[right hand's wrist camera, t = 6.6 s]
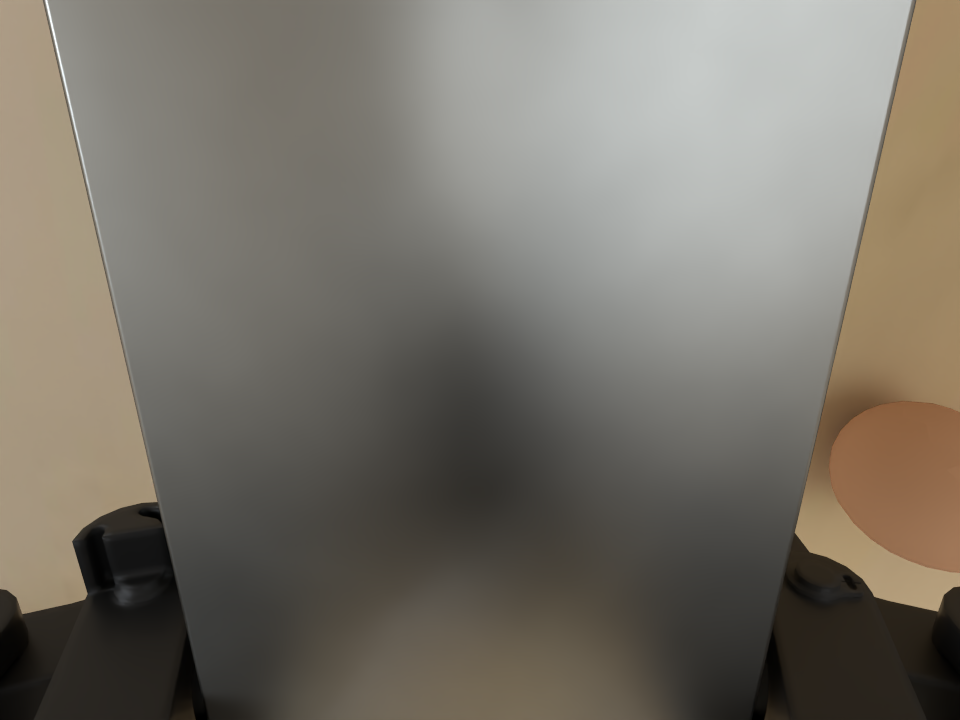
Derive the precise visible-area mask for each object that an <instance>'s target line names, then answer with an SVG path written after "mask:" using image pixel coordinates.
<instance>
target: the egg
mask: <svg viewBox="0 0 960 720" xmlns="http://www.w3.org/2000/svg"><path fill="white" fill-rule="evenodd" d="M829 471H830V477H831V484H832V488H833V491H834V493H835V495H836V498H837V500H838V502H839V504H840V505H841V506H842V508H843V509H844V510H845V512H846V513H847V514H848V516H849V517H850V519H851V520H852V521H853V523H854V524H855V525H856V526H857V527H858V528H860V529H861V530H862V531H863V532H864V533H865V534H866V535H867V536H868V537H869V538H870V539H871V540H873V541H874V542H876V543H877V544H879V545H881V546H882V547H884V548H885V549H887V550H888V551H890V552H891V553H893V554H896V555H898V556H900V557H902V558H904V559H906V560H909V561H911V562H914V563H917V564H920V565H922V566H925V567H929V568H934V569H938V570H943V571H948V572H957V573H960V413H959V412H957V411H955V410H953V409H950V408H947V407H943V406H940V405H936V404H933V403H921V402H909V401H900V402H893V403H887V404H881V405H878V406H875V407H873V408H870V409H867V410H865V411H864V412H862V413H860V414H859V415H857V416H856V417H854V418H852V419H851V420H850V421H849V422H848V423H847V424H846V425H845V426H844V427H843V428H842V429H841V431H840V432H839V434H838V436H837V438H836V440H835V442H834V444H833V446H832V450H831V454H830V462H829Z"/></svg>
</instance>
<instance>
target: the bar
mask: <svg viewBox="0 0 960 720" xmlns="http://www.w3.org/2000/svg"><path fill="white" fill-rule="evenodd" d="M43 2H44V7H45V11H46V16H47V20H48V24H49V29H50V33H51V37H52V42H53V46H54V51H55V55H56V59H57V64H58V68H59V72H60V77H61V81H62V86H63V90H64V94H65V99H66V103H67V107H68V112H69V116H70V121H71V125H72V129H73V134H74V138H75V142H76V147H77V151H78V156H79V160H80V164H81V169H82V173H83V177H84V182H85V186H86V191H87V195H88V199H89V204H90V208H91V212H92V217H93V221H94V225H95V230H96V234H97V239H98V243H99V247H100V252H101V256H102V260H103V265H104V269H105V274H106V278H107V282H108V287H109V291H110V295H111V300H112V304H113V309H114V313H115V317H116V322H117V326H118V330H119V335H120V339H121V344H122V348H123V352H124V357H125V361H126V365H127V370H128V374H129V379H130V383H131V387H132V392H133V396H134V400H135V405H136V409H137V414H138V418H139V422H140V427H141V431H142V435H143V440H144V444H145V449H146V453H147V457H148V462H149V466H150V470H151V475H152V479H153V484H154V488H155V492H156V497H157V501H158V505H159V510H160V514H161V518H162V523H163V527H164V532H165V536H166V540H167V545H168V549H169V553H170V558H171V562H172V567H173V571H174V575H175V580H176V584H177V588H178V593H179V597H180V602H181V606H182V610H183V615H184V619H185V623H186V628H187V632H188V637H189V641H190V645H191V650H192V654H193V658H194V663H195V667H196V672H197V676H198V680H199V685H200V689H201V693H202V698H203V702H204V707H205V711H206V715H207V720H752V717H753V712H754V708H755V703H756V699H757V695H758V690H759V686H760V682H761V677H762V673H763V668H764V664H765V660H766V655H767V651H768V647H769V642H770V638H771V633H772V629H773V625H774V620H775V616H776V612H777V607H778V603H779V598H780V594H781V590H782V585H783V581H784V577H785V572H786V568H787V563H788V559H789V555H790V550H791V546H792V542H793V537H794V533H795V528H796V524H797V520H798V515H799V511H800V507H801V502H802V498H803V493H804V489H805V485H806V480H807V476H808V472H809V467H810V463H811V458H812V454H813V450H814V445H815V441H816V437H817V432H818V428H819V423H820V419H821V415H822V410H823V406H824V402H825V397H826V393H827V388H828V384H829V380H830V375H831V371H832V367H833V362H834V358H835V353H836V349H837V345H838V340H839V336H840V332H841V327H842V323H843V318H844V314H845V310H846V305H847V301H848V297H849V292H850V288H851V283H852V279H853V275H854V270H855V266H856V262H857V257H858V253H859V248H860V244H861V240H862V235H863V231H864V227H865V222H866V218H867V213H868V209H869V205H870V200H871V196H872V191H873V187H874V183H875V178H876V174H877V170H878V165H879V161H880V156H881V152H882V148H883V143H884V139H885V135H886V130H887V126H888V121H889V117H890V113H891V108H892V104H893V100H894V95H895V91H896V86H897V82H898V78H899V73H900V69H901V65H902V60H903V56H904V51H905V47H906V43H907V38H908V34H909V30H910V25H911V21H912V16H913V12H914V8H915V3H916V0H43Z"/></svg>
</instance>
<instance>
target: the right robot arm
mask: <svg viewBox="0 0 960 720" xmlns="http://www.w3.org/2000/svg"><path fill="white" fill-rule="evenodd" d="M72 542H73V546H74V549H75V552H76V556H77V559H78V562H79V566H80V569H81V573H82V576H83V579H84V583H85V586H86V589H87V593H88V595H87V597H86V599H85V600H83V601H79V602H76V603H72V604H68V605H63V606H58V607H54V608H49V609H45V610H40V611H36V612H31V613H27V614H22V612H21V609H20V607H19V604H18V601H17V598H16V597H15V596H14V595H12V594H11V593H10V592H8V591H7V590H1V589H0V720H207V715H206V711H205V707H204V702H203V698H202V693H201V689H200V685H199V680H198V676H197V672H196V667H195V663H194V658H193V654H192V650H191V645H190V641H189V637H188V632H187V628H186V623H185V619H184V615H183V610H182V606H181V602H180V597H179V593H178V588H177V584H176V580H175V575H174V571H173V567H172V562H171V558H170V553H169V549H168V545H167V540H166V536H165V532H164V527H163V523H162V518H161V514H160V510H159V505H158V502H153V503H140V504H136V505H132V506H128V507H123V508H120V509H118V510H115V511H113V512H111V513H108V514H106V515H104V516H101V517H99V518H98V519H96V520H95V521H93V522H92V523H90V524H89V525H87V526H86V527H84V528H83V529H82V530H81V531H80V533H79V534H78V535H77V536H76V537H75V539H74V540H73V541H72ZM752 720H960V587H954V588H952V589H951V590H950V591H948V592H947V593H946V594H945V595H944V597H943V599H942V602H941V605H940V608H939V611H938V612H937V611H932V610H927V609H923V608H918V607H914V606H909V605H904V604H900V603H895V602H891V601H887V600H883V599H880V598H876V597H874V596H873V593H872V592H871V591H870V589H869V588H868V586H867V585H866V584H865V582H864V581H863V579H862V578H860V577H859V576H858V575H856V574H855V573H854V572H852V571H851V570H850V569H849V568H847V567H846V566H844V565H842V564H840V563H838V562H836V561H834V560H831V559H829V558H827V557H824V556H821V555H817V554H813V553H810V552H809V551H808V550H807V548H806V547H805V546H804V544H803V543H802V542H801V540H800V539H799V538H798V537H797V535H796V534H795V533H794V537H793V542H792V546H791V550H790V555H789V559H788V563H787V568H786V572H785V577H784V581H783V585H782V590H781V594H780V598H779V603H778V607H777V612H776V616H775V620H774V625H773V629H772V633H771V638H770V642H769V647H768V651H767V655H766V660H765V664H764V668H763V673H762V677H761V682H760V686H759V690H758V695H757V699H756V703H755V708H754V712H753V717H752Z"/></svg>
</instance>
